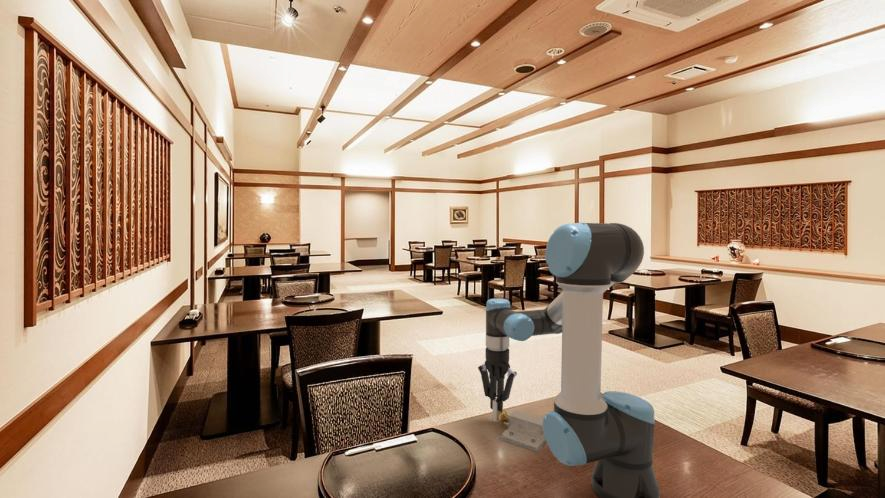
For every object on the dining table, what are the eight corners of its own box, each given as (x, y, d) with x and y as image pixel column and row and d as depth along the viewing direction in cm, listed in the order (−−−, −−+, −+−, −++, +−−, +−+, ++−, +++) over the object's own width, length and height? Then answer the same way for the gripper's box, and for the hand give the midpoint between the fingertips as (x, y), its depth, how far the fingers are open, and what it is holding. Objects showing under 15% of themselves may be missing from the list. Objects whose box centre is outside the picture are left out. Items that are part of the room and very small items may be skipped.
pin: (542, 432, 130) (542, 418, 130) (536, 438, 126) (536, 424, 126) (504, 420, 138) (504, 407, 137) (498, 426, 134) (498, 412, 134)
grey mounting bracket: (558, 428, 134) (559, 412, 133) (537, 452, 120) (537, 435, 119) (523, 417, 140) (523, 403, 140) (499, 439, 127) (499, 422, 126)
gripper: (521, 348, 134) (520, 420, 136) (485, 341, 142) (484, 410, 143) (510, 354, 128) (509, 430, 130) (473, 346, 136) (473, 418, 137)
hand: (496, 419), depth 137 cm, fingers closed
